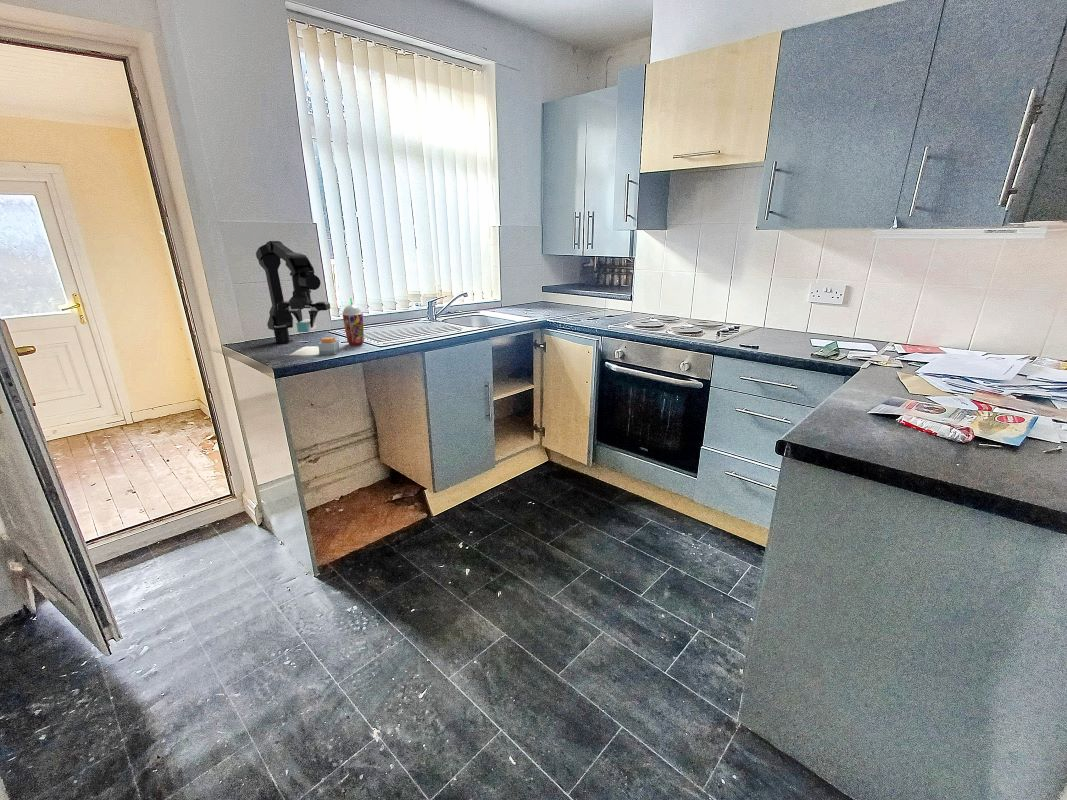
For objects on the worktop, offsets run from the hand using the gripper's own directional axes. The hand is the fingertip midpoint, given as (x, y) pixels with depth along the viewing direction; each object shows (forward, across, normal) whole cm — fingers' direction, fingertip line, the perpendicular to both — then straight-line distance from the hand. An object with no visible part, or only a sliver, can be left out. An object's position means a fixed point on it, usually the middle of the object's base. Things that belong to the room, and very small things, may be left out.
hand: (307, 327), depth 188 cm
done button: (+6, +9, -4) cm, 12 cm away
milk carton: (+1, 0, 0) cm, 1 cm away
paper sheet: (+10, 0, 0) cm, 10 cm away
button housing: (+10, +9, -4) cm, 14 cm away
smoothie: (+10, +15, +12) cm, 22 cm away
